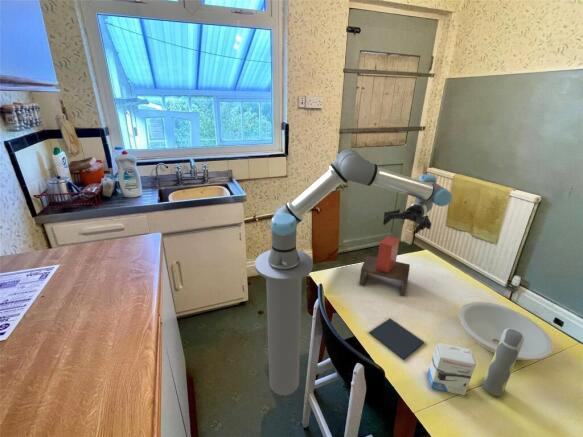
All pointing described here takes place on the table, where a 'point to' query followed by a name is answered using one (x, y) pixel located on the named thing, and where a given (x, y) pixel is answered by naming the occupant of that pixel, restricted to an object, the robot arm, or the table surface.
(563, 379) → the table surface
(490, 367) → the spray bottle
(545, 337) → the soup bowl
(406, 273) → the shelf
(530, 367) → the table surface
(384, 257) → the block
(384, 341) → the mat
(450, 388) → the ink box
